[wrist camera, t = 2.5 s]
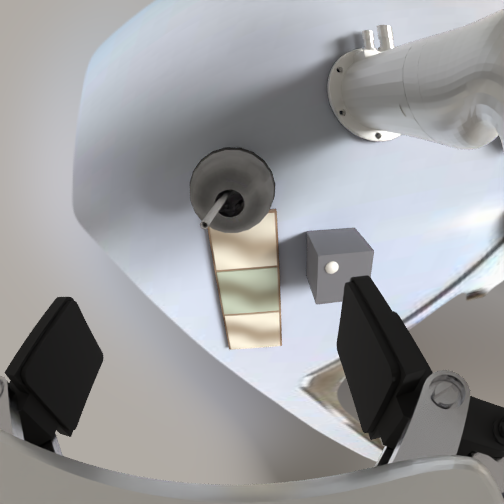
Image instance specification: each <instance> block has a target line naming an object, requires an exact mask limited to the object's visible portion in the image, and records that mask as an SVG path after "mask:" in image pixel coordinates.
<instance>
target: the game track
mask: <svg viewBox="0 0 504 504" xmlns="http://www.w3.org/2000/svg"><path fill="white" fill-rule="evenodd" d="M208 234H209V240H210V246H211V252H212V258H213V264H214V270H215V276H216V281H217V287H218V292H219V298H220V303H221V309H222V314H223V319H224V324H225V329H226V335H227V340H228V345H229V349H247V348H261V347H273V346H282V334H281V300H280V272H279V249H278V228H277V211H276V209H269V212H268V214H267V215H266V216H265V217H264V218H263V219H262V221H261V222H260V223H259V224H257V225H255V226H254V227H252V228H251V229H249V230H246V231H242V232H239V233H223V232H220V231H217V230H214V229H212V228H211V227H209V226H208Z"/></svg>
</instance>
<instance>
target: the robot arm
mask: <svg viewBox="0 0 504 504" xmlns="http://www.w3.org/2000/svg"><path fill="white" fill-rule="evenodd" d="M377 31H378V38H379V40H380V47H379V48H378V50H377V49H376V48H375V47H374V36H373V32H372V31H368V30H365V31H362V37H363V41H364V48H360V49H355V50H352V51H350V52H348V53H346V54H344V55H343V56H341V57H340V58H339V59H338V60H337V61H336V62H335V64H334V65H333V67H332V69H331V71H330V74H329V77H328V83H327V92H328V98H329V102H330V106H331V108H332V110H333V112H334V114H335V116H336V117H337V119H338V120H339V122H340V123H341V124H342V125H343V126H344V127H345V128H346V129H347V130H349V131H350V132H351V133H353V134H354V135H356V136H358V137H360V138H363V139H366V140H370V141H375V142H384V141H389V140H392V139H395V138H397V137H399V136H400V135H406V136H410V137H415V138H419V139H423V140H427V141H431V142H435V143H439V144H442V145H446V146H449V147H453V148H457V149H462V150H473V149H477V148H481V147H483V146H485V145H487V144H489V143H490V142H492V141H493V140H494V139H495V138H497V137H498V136H499V137H500V140H501V143H502V147H503V151H504V9H502V10H500V11H498V12H495V13H493V14H491V15H489V16H487V17H484V18H482V19H480V20H478V21H475V22H473V23H470V24H468V25H465V26H462V27H459V28H456V29H453V30H449V31H446V32H443V33H440V34H436V35H433V36H429V37H426V38H422V39H419V40H416V41H412V42H409V43H406V44H403V45H400V46H397V47H394V43H393V40H394V39H393V32H392V27H391V26H388V25H379V26H377ZM336 69H338V70H339V73H338V72H337V71H336ZM340 111H342V114H341V115H340V113H339V112H340ZM375 134H377V136H376V137H375ZM337 351H338V354H339V357H340V360H341V363H342V366H343V369H344V372H345V375H346V379H347V381H348V385H349V388H350V391H351V394H352V397H353V400H354V404H355V407H356V410H357V413H358V417H359V420H360V424H361V427H362V430H363V432H364V433H369V436H370V439H371V440H372V439H376V438H380V437H381V439H382V442H383V445H385V448H384V449H383V451H382V453H381V455H380V457H379V459H378V461H377V463H376V465H375V467H372V468H368V469H363V470H358V471H354V472H349V473H345V474H340V475H335V476H329V477H323V478H316V479H309V480H301V481H292V482H283V483H272V484H253V485H213V484H196V483H183V482H174V481H166V480H158V479H151V478H145V477H140V476H134V475H129V474H125V473H120V472H116V471H112V470H107V469H103V468H99V467H96V466H93V465H89V464H86V463H83V462H79V461H76V460H73V459H70V458H67V457H64V456H63V455H62V452H61V449H60V446H59V443H58V440H57V437H56V434H55V431H56V430H57V431H58V432H59V433H60V434H63V435H66V436H69V437H71V435H72V432H73V430H75V429H76V427H77V425H78V422H79V419H80V416H81V414H82V411H83V408H84V406H85V403H86V400H87V398H88V395H89V393H90V391H91V388H92V385H93V383H94V381H95V378H96V376H97V373H98V371H99V369H100V367H101V364H102V362H103V353H102V351H101V349H100V348H99V346H98V344H97V342H96V340H95V338H94V336H93V334H92V333H91V331H90V329H89V327H88V325H87V323H86V321H85V319H84V317H83V315H82V313H81V311H80V308H79V306H78V304H77V302H75V301H74V300H73V298H71V297H57V298H56V299H55V301H54V302H53V303H52V304H51V306H50V307H49V309H48V310H47V311H46V312H45V314H44V315H43V316H42V318H41V319H40V320H39V322H38V323H37V325H36V326H35V327H34V329H33V330H32V332H31V333H30V334H29V336H28V337H27V339H26V340H25V342H24V343H23V345H22V346H21V348H20V349H19V351H18V352H17V354H16V355H15V357H14V359H13V360H12V362H11V363H10V365H9V366H8V368H7V370H6V371H5V374H6V375H7V376H8V377H9V379H10V380H11V381H10V383H8V381H7V380H6V379H5V378H4V377H2V376H0V504H504V408H503V407H500V406H497V405H494V404H491V403H489V402H486V401H483V400H480V399H477V398H475V397H472V396H470V389H469V386H468V384H467V382H466V381H465V379H464V378H463V377H461V376H460V375H459V374H457V373H455V372H453V371H447V370H442V371H437V372H435V373H432V371H431V369H430V367H429V365H428V363H427V362H426V360H425V358H424V357H423V355H422V353H421V351H420V349H419V348H418V346H417V345H416V343H415V341H414V339H413V338H412V336H411V334H410V333H409V331H408V330H407V328H406V326H405V325H404V323H403V321H402V320H401V318H400V317H399V315H398V314H397V313H396V312H394V311H393V312H392V310H391V308H390V307H389V305H388V304H387V302H386V301H385V299H384V297H383V296H382V294H381V293H380V291H379V290H378V288H377V287H376V285H375V284H374V282H373V281H372V279H371V278H370V277H369V276H368V275H365V276H357V277H351V279H350V282H346V283H345V286H344V294H343V302H342V310H341V318H340V325H339V331H338V338H337Z"/></svg>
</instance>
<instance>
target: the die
mask: <svg viewBox="0 0 504 504" xmlns="http://www.w3.org/2000/svg"><path fill="white" fill-rule="evenodd" d="M373 255H374V250H373V249H372V248H371V246H370V245H369V244H368V243H367V242H366V240H365V239H364V238H363V237H362V236H361V234H360V233H359V232H358V231H357V230H356V229H355V228H345V229H331V230H317V231H307V261H306V276H307V279H308V282H309V285H310V288H311V291H312V294H313V297H314V300H315V303H316V304H325V303H333V302H341V301H343V294H344V286H345V283H346V282H350V279H351V277H357V276H365V275H368V276H369V277H370V276H371V270H372V262H373Z"/></svg>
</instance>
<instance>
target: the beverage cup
mask: <svg viewBox="0 0 504 504" xmlns="http://www.w3.org/2000/svg"><path fill="white" fill-rule="evenodd" d="M274 196H275V182H274V178H273V174H272V171H271V170H270V168H269V167H268V165H267V164H266V163H265V161H264V160H263V159H261V158H260V157H259V156H257V155H256V154H255V153H254V152H251V151H248V150H245V149H242V148H223V149H219V150H216V151H213V152H211V153H210V154H209V155H207V156H206V157H204V158H203V159H202V160H201V161H200V162H199V164H198V165H197V166H196V168H195V169H194V171H193V174H192V177H191V181H190V200H191V203H192V206H193V208H194V211H195V213H196V214H197V215H198V217H199V218H200V219H201V220H202V222H201V223H200V226H201V228H202V229H207V228H208V226H209V227H211V228H212V229H214V230H217V231H220V232H223V233H239V232H242V231H246V230H249V229H251V228H252V227H254V226H255V225H257V224H259V223H260V222H261V221H262V219H263V218H264V217H265V216H266V215H267V214H268V212H269V209H270V207H271V204H272V202H273V200H274Z"/></svg>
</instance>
